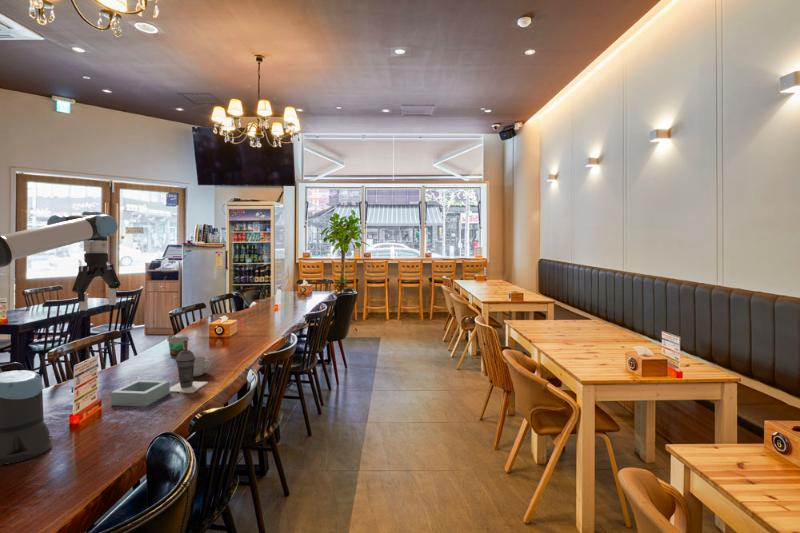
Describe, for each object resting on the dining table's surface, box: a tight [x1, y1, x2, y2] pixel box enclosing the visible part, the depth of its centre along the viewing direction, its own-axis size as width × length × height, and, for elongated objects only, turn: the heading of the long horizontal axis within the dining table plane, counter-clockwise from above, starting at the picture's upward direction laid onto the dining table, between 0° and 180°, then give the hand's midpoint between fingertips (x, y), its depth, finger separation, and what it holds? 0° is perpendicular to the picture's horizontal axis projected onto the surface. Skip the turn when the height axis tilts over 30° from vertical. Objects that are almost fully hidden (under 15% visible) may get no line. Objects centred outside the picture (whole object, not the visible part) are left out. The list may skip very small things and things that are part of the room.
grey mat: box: [170, 380, 209, 394], centre depth 179 cm, size 12×12×1 cm
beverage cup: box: [175, 340, 196, 388], centre depth 178 cm, size 7×7×20 cm
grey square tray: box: [110, 379, 171, 408], centre depth 166 cm, size 14×14×5 cm
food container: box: [166, 334, 190, 357], centre depth 230 cm, size 12×6×10 cm, turn 73°
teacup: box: [193, 355, 212, 377], centre depth 195 cm, size 14×11×8 cm
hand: (98, 307), depth 162 cm, fingers open, 13 cm apart
